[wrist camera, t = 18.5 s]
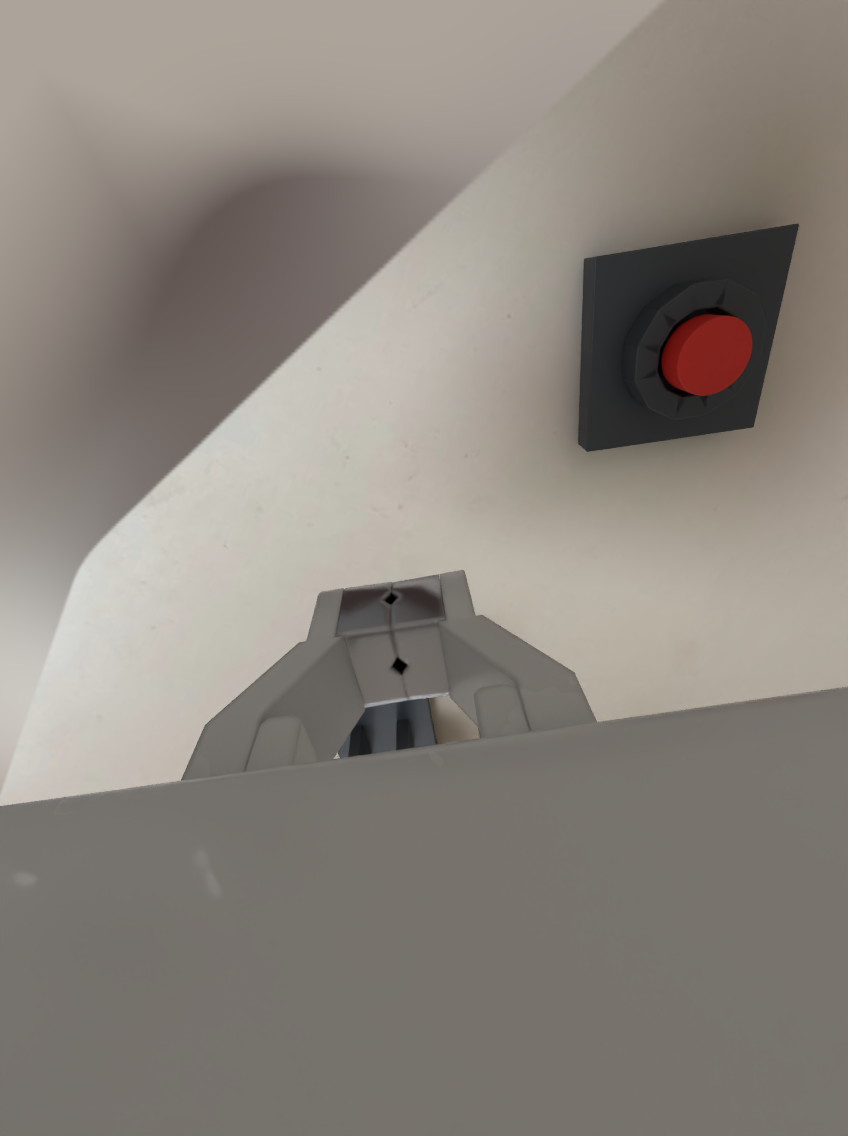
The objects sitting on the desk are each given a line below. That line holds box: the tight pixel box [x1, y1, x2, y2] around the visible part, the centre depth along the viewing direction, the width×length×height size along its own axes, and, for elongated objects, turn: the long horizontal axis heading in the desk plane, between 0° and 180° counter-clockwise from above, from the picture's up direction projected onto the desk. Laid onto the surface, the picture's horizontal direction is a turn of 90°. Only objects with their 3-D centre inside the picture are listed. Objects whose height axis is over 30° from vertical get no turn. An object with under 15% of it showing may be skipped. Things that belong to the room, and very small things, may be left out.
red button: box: [661, 314, 752, 396], centre depth 24 cm, size 4×4×2 cm
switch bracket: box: [338, 698, 437, 758], centre depth 37 cm, size 12×9×13 cm
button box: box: [578, 224, 799, 452], centre depth 26 cm, size 10×10×4 cm
